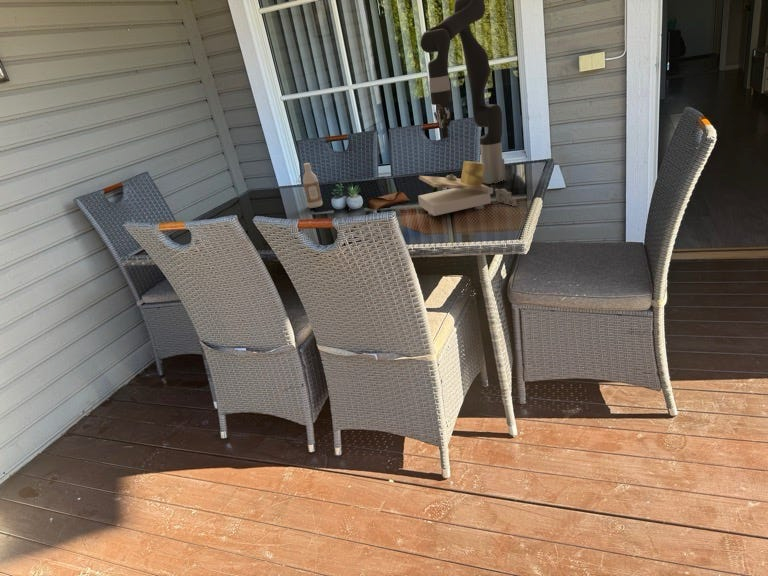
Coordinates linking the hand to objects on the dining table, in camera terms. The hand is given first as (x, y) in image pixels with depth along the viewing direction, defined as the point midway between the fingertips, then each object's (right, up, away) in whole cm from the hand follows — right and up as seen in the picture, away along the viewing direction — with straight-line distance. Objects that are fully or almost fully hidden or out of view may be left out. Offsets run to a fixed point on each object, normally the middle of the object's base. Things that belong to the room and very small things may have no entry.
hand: (444, 137), depth 196 cm
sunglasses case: (-21, -21, +29) cm, 42 cm away
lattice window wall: (+24, -25, +2) cm, 35 cm away
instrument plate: (+4, -18, +3) cm, 18 cm away
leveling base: (+5, -26, +6) cm, 27 cm away
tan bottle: (-56, -19, +46) cm, 74 cm away
